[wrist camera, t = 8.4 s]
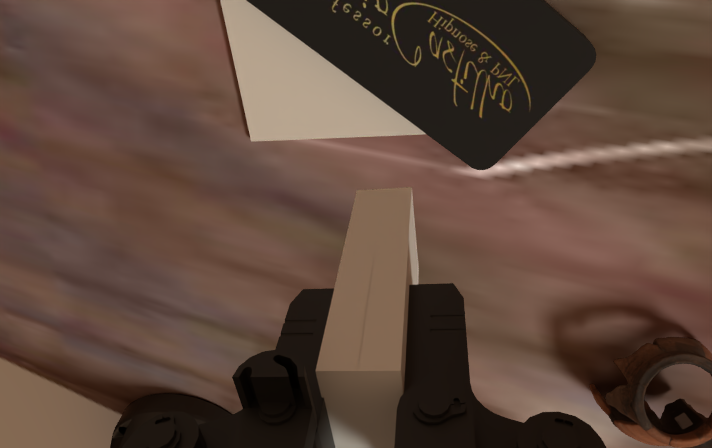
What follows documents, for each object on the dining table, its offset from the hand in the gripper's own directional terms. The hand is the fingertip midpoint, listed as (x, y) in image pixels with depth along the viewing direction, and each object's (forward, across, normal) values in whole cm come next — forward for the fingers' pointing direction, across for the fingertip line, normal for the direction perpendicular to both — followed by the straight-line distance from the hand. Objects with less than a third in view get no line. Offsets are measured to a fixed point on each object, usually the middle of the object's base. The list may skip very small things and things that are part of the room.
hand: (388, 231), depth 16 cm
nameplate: (+21, +3, +6) cm, 22 cm away
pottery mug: (+23, +18, -30) cm, 42 cm away
